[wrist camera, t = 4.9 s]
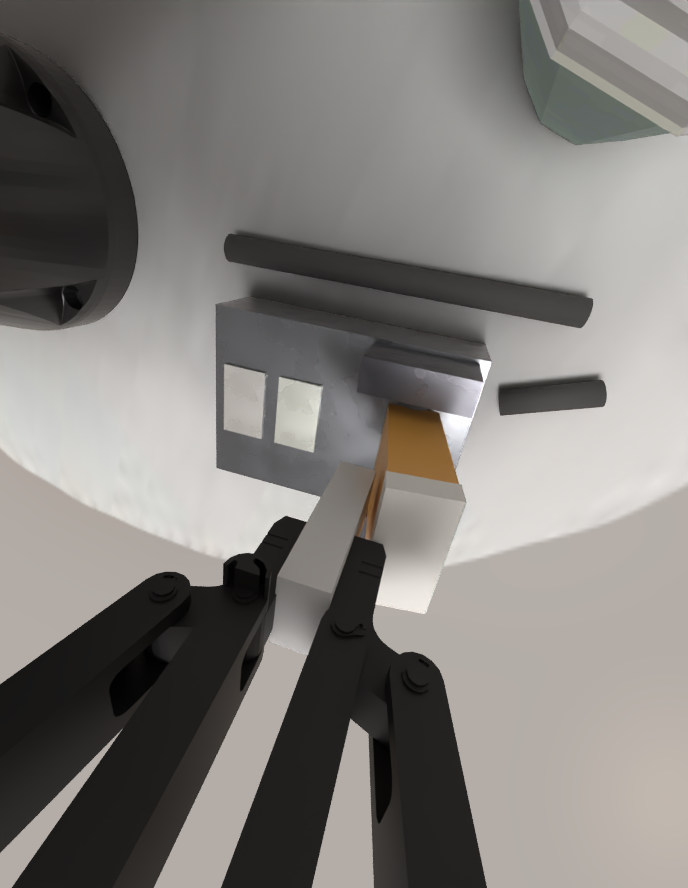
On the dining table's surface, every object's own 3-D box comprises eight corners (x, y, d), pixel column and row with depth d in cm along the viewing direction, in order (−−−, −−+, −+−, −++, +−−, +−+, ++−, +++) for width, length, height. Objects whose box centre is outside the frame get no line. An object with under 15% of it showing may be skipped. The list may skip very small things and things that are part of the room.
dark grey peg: (498, 410, 23) (501, 419, 22) (498, 387, 22) (500, 395, 21) (596, 401, 21) (605, 410, 20) (598, 376, 21) (607, 384, 20)
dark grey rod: (236, 261, 23) (223, 261, 22) (236, 234, 22) (224, 233, 21) (575, 325, 20) (583, 330, 19) (587, 297, 19) (596, 300, 18)
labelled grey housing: (245, 441, 28) (188, 493, 22) (250, 296, 24) (180, 311, 17) (437, 491, 26) (433, 564, 20) (485, 344, 22) (498, 380, 15)
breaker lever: (368, 482, 22) (356, 605, 14) (388, 388, 19) (387, 480, 12) (412, 490, 22) (423, 618, 14) (439, 398, 19) (469, 496, 12)
